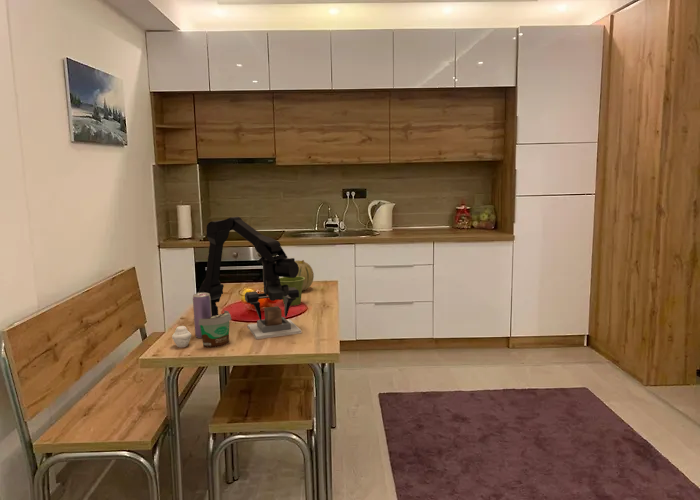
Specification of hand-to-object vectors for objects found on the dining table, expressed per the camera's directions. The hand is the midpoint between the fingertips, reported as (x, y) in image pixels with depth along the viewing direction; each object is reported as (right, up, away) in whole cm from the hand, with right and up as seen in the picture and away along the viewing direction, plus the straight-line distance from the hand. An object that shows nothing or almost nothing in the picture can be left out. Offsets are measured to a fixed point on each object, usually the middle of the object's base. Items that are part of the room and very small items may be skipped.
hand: (273, 318), depth 191 cm
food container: (-16, -7, -14) cm, 22 cm away
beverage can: (-24, -6, -4) cm, 25 cm away
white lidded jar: (-28, -8, -14) cm, 32 cm away
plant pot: (+3, +1, +38) cm, 38 cm away
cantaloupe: (+3, +5, +63) cm, 64 cm away
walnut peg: (0, -3, +1) cm, 3 cm away
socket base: (0, -4, +1) cm, 4 cm away
